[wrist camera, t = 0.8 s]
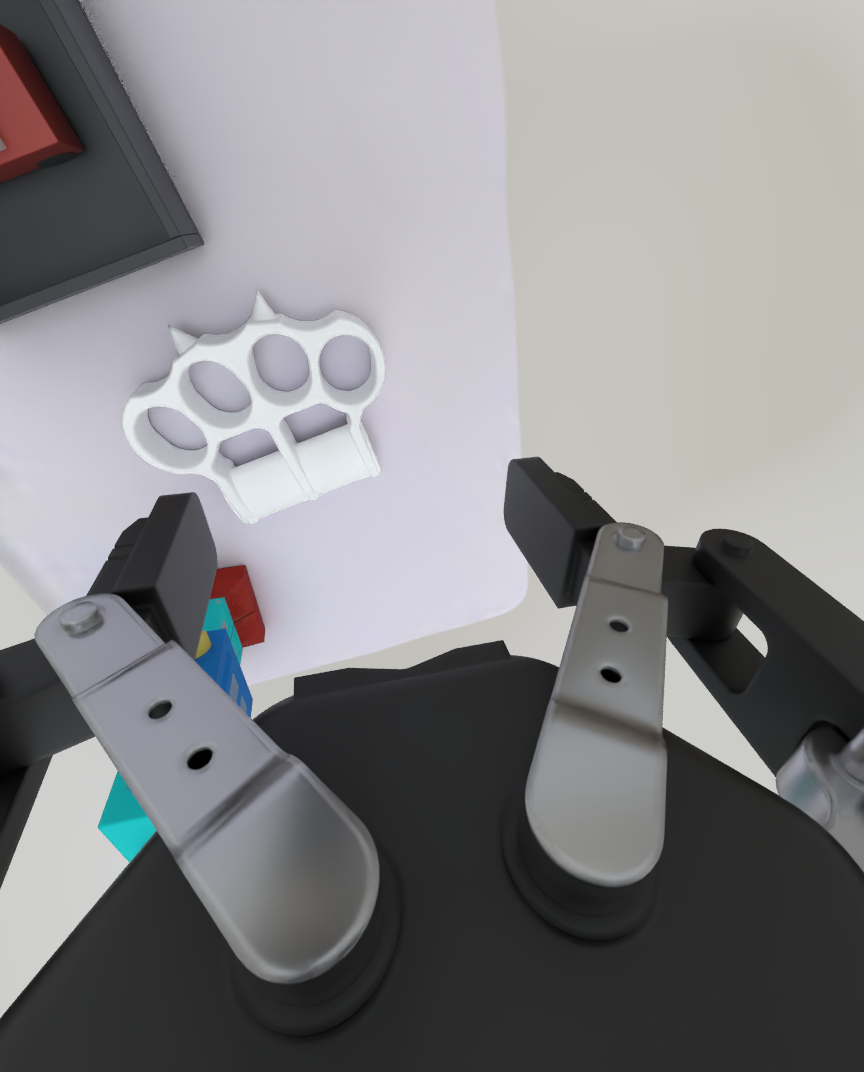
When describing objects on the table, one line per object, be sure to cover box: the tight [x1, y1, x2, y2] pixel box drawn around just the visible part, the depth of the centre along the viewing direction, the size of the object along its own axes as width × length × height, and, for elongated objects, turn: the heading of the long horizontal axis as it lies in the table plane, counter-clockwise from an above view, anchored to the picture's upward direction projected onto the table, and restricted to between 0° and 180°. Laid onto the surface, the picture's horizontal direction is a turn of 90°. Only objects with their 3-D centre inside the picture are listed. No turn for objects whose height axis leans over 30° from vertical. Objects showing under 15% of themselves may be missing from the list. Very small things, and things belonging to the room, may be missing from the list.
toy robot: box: [98, 565, 265, 863], centre depth 33 cm, size 12×6×25 cm, turn 2°
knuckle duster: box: [122, 290, 386, 524], centre depth 33 cm, size 3×18×15 cm
